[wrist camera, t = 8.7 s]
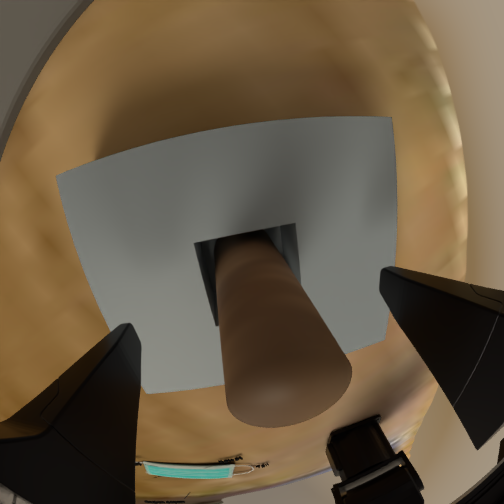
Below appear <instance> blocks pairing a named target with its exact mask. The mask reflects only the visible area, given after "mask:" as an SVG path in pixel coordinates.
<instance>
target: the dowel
mask: <svg viewBox="0 0 504 504" xmlns="http://www.w3.org/2000/svg"><path fill="white" fill-rule="evenodd" d="M214 262H215V278H216V293H217V306H218V319H219V331H220V343H221V353H222V364H223V374H224V383H225V392H226V401H227V406H228V409H229V411H230V412H231V413H232V415H233V416H234V417H236V418H237V419H238V420H240V421H242V422H244V423H246V424H249V425H252V426H257V427H266V428H275V427H284V426H290V425H294V424H298V423H301V422H304V421H307V420H309V419H311V418H313V417H316V416H317V415H319V414H321V413H323V412H324V411H326V410H327V409H329V408H330V407H331V406H332V405H334V404H335V403H336V402H337V401H338V400H339V399H340V398H341V397H342V395H343V394H344V393H345V391H346V390H347V388H348V386H349V384H350V382H351V378H352V367H351V364H350V362H349V360H348V359H347V357H346V355H345V354H344V352H343V351H342V349H341V347H340V346H339V344H338V343H337V341H336V339H335V338H334V336H333V335H332V333H331V331H330V330H329V328H328V327H327V325H326V323H325V322H324V320H323V319H322V317H321V316H320V314H319V312H318V311H317V309H316V308H315V306H314V305H313V303H312V301H311V300H310V298H309V297H308V295H307V294H306V292H305V291H304V289H303V287H302V286H301V284H300V283H299V281H298V280H297V278H296V277H295V275H294V274H293V272H292V270H291V269H290V267H289V266H288V264H287V263H286V261H285V260H284V258H283V257H282V255H281V254H280V252H279V251H278V249H277V248H276V246H275V245H274V243H273V242H272V240H271V239H270V237H269V236H268V234H267V233H266V232H265V231H264V230H263V229H260V230H255V231H250V232H245V233H240V234H235V235H230V236H225V237H220V238H218V239H217V241H216V243H215V247H214Z"/></svg>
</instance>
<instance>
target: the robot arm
mask: <svg viewBox="0 0 504 504" xmlns="http://www.w3.org/2000/svg"><path fill="white" fill-rule="evenodd" d="M379 292H380V294H381V296H382V298H383V299H384V301H385V303H386V304H387V306H388V308H389V309H390V311H391V313H392V315H393V316H394V318H395V320H396V321H397V323H398V325H399V326H400V327H401V329H402V330H403V332H404V333H405V334H406V336H407V337H408V339H409V340H410V342H411V343H412V344H413V346H414V347H415V349H416V350H417V352H418V353H419V355H420V356H421V358H422V359H423V361H424V362H425V364H426V365H427V367H428V368H429V370H430V371H431V373H432V374H433V376H434V377H435V379H436V380H437V382H438V384H439V385H440V387H441V388H442V390H443V392H444V393H445V395H446V396H447V398H448V400H449V401H450V403H451V405H452V406H453V408H454V410H455V412H456V414H457V415H458V417H459V419H460V421H461V422H462V424H463V426H464V428H465V429H466V431H467V433H468V435H469V437H470V439H471V441H472V443H473V445H474V446H475V448H476V449H477V450H479V449H480V448H481V447H482V446H483V445H484V444H485V443H487V442H488V441H489V440H490V439H491V438H492V437H493V436H494V435H495V434H496V433H497V432H498V431H499V430H500V429H501V428H502V427H503V426H504V291H502V290H496V289H491V288H486V287H482V286H477V285H473V284H468V283H465V282H460V281H456V280H452V279H447V278H443V277H439V276H434V275H430V274H426V273H421V272H417V271H412V270H408V269H403V268H399V267H394V266H388V267H384V268H382V269H381V271H380V281H379ZM141 353H142V346H141V341H140V339H139V337H138V335H137V333H136V331H135V328H134V326H133V325H132V324H131V323H123V324H120V325H118V326H117V327H116V328H115V329H114V330H112V331H111V332H110V333H109V334H108V335H107V336H105V337H104V338H103V339H102V340H101V341H100V342H98V343H97V344H96V345H95V346H94V347H93V348H91V349H90V350H89V351H88V352H87V353H86V354H85V355H83V356H82V357H81V358H80V359H79V360H78V361H77V362H75V363H74V364H73V365H72V366H71V367H70V368H69V369H67V370H66V371H65V372H64V373H63V374H62V375H61V376H60V377H59V378H58V379H56V380H55V381H54V382H53V383H52V384H51V385H49V386H48V387H47V388H46V389H45V390H44V391H43V392H41V393H40V394H39V395H38V396H36V397H35V398H34V399H33V400H32V401H30V402H29V403H28V404H26V405H25V406H24V407H23V408H21V409H20V410H19V411H18V412H16V413H15V414H14V415H13V416H11V417H10V418H8V419H7V420H5V421H2V422H0V504H135V492H134V491H135V456H136V435H137V421H138V409H139V399H140V389H141ZM380 420H381V416H380V415H376V416H374V417H372V418H369V419H367V420H364V421H362V422H360V423H357V424H354V425H352V426H349V427H346V428H344V429H341V430H338V431H335V432H333V433H331V434H330V437H329V443H328V444H327V447H326V455H327V458H328V460H329V463H330V465H331V468H332V470H333V472H334V475H335V476H340V477H341V480H342V482H341V483H337V484H334V485H333V488H332V489H331V490H332V493H333V496H334V499H335V504H424V499H423V497H422V495H421V493H420V491H421V490H423V489H424V486H423V483H422V481H421V479H420V477H419V475H418V473H417V472H416V470H415V469H414V467H413V466H412V464H411V463H410V461H409V459H408V458H407V456H406V455H405V453H404V452H403V450H402V451H400V452H398V454H395V452H394V450H393V449H392V447H391V445H390V443H389V442H388V440H387V438H386V436H385V434H384V433H383V431H382V429H381V427H380V426H379V422H380ZM400 464H401V465H402V466H401V467H400V466H399V465H400ZM451 504H504V438H503V439H502V440H501V441H500V449H499V455H498V462H497V465H496V466H495V467H494V468H493V469H492V470H491V471H490V472H489V473H487V475H485V476H484V477H483V478H482V479H481V480H480V481H478V482H477V483H476V484H475V485H474V486H473V487H472V488H470V489H469V490H468V491H466V492H465V493H464V494H463V495H461V496H460V497H459V498H457V499H456V500H455V501H454V502H452V503H451Z"/></svg>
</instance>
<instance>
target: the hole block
mask: <svg viewBox="0 0 504 504" xmlns="http://www.w3.org/2000/svg"><path fill="white" fill-rule="evenodd" d="M56 179H57V184H58V188H59V192H60V196H61V200H62V204H63V208H64V212H65V215H66V219H67V222H68V226H69V229H70V232H71V235H72V239H73V242H74V245H75V248H76V251H77V253H78V256H79V259H80V262H81V264H82V267H83V270H84V272H85V275H86V277H87V280H88V282H89V285H90V287H91V290H92V292H93V294H94V297H95V299H96V301H97V304H98V306H99V308H100V310H101V312H102V314H103V317H104V319H105V321H106V323H107V325H108V327H109V329H110V331H112V330H114V329H115V328H116V327H117V326H118V325H120V324H123V323H131V324H132V325H133V326H134V328H135V331H136V333H137V335H138V337H139V339H140V341H141V346H142V353H141V385H142V387H143V389H144V390H145V392H146V393H147V394H153V393H164V392H174V391H183V390H191V389H198V388H205V387H212V386H218V385H224V384H225V383H224V374H223V364H222V353H221V343H220V331H219V319H218V306H217V293H216V278H215V262H214V247H215V243H216V241H217V239H218V238H220V237H225V236H230V235H235V234H240V233H245V232H250V231H255V230H260V229H263V230H264V231H265V232H266V233H267V234H268V236H269V237H270V239H271V240H272V242H273V243H274V245H275V246H276V248H277V249H278V251H279V252H280V254H281V255H282V257H283V258H284V260H285V261H286V263H287V264H288V266H289V267H290V269H291V270H292V272H293V274H294V275H295V277H296V278H297V280H298V281H299V283H300V284H301V286H302V287H303V289H304V291H305V292H306V294H307V295H308V297H309V298H310V300H311V301H312V303H313V305H314V306H315V308H316V309H317V311H318V312H319V314H320V316H321V317H322V319H323V320H324V322H325V323H326V325H327V327H328V328H329V330H330V331H331V333H332V335H333V336H334V338H335V339H336V341H337V343H338V344H339V346H340V347H341V349H342V351H343V352H344V354H347V353H350V352H353V351H356V350H358V349H361V348H364V347H367V346H370V345H372V344H375V343H378V342H380V341H383V340H385V335H386V329H387V324H388V317H389V311H390V309H389V308H388V306H387V304H386V303H385V301H384V299H383V298H382V296H381V294H380V292H379V281H380V271H381V269H382V268H384V267H388V266H394V267H395V255H396V237H397V173H396V156H395V144H394V133H393V124H392V117H378V116H333V117H310V118H296V119H284V120H274V121H265V122H257V123H249V124H242V125H236V126H229V127H223V128H218V129H212V130H207V131H202V132H197V133H192V134H187V135H183V136H178V137H174V138H170V139H166V140H162V141H158V142H154V143H150V144H146V145H143V146H139V147H136V148H132V149H129V150H126V151H122V152H119V153H116V154H113V155H110V156H107V157H104V158H101V159H98V160H95V161H92V162H90V163H87V164H84V165H82V166H79V167H76V168H74V169H71V170H69V171H66V172H64V173H61V174H59V175H56Z"/></svg>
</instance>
